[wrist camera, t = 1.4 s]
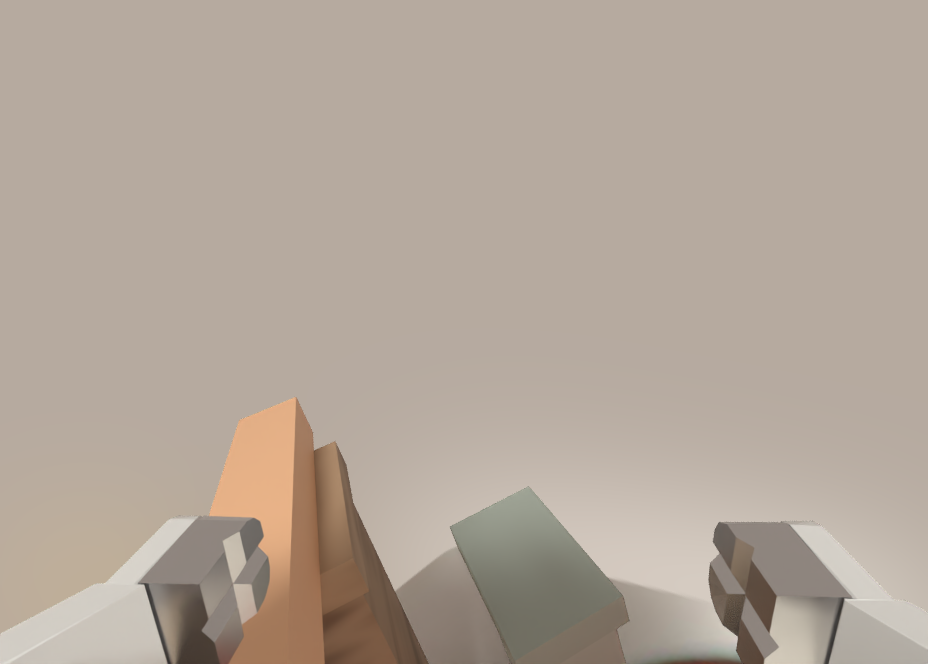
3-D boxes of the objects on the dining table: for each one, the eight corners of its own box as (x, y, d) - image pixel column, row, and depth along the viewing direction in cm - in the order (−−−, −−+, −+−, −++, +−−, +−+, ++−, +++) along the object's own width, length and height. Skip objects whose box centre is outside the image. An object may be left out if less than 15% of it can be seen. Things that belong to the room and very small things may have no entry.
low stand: (571, 623, 43) (528, 486, 38) (666, 763, 32) (622, 595, 27) (503, 663, 41) (449, 526, 36) (578, 827, 30) (514, 660, 25)
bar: (312, 432, 34) (296, 396, 33) (332, 816, 12) (284, 743, 11) (257, 456, 33) (239, 420, 32) (170, 918, 11) (103, 847, 10)
